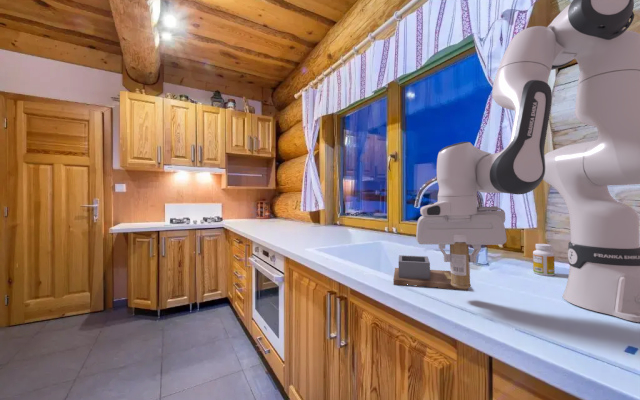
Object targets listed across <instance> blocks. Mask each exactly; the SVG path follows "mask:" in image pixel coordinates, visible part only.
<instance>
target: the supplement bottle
mask: <svg viewBox="0 0 640 400" xmlns="http://www.w3.org/2000/svg"><path fill="white" fill-rule="evenodd" d="M532 259H533V260H532V264H533V266H532V267H533V268H532V269H533V270H532V271H533V272H532V273H534V274H536V275H539V276H545V277H553V276H555V253H554V252H553V251H552V245H551V244H549V243H548V244H547V243H535V250H533V251H532Z"/></svg>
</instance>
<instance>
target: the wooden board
mask: <svg viewBox="0 0 640 400" xmlns="http://www.w3.org/2000/svg"><path fill="white" fill-rule="evenodd" d="M407 284H408V285H417V286H416V287H419V286H427V287H426V288H432V287H438V288H437V289H447V290H448V289H449V290H458V291H459V290H460V291H468V290H469V288H465V289H463V288H456V287H454V286H452V285H451V270H440V269H430V280H427V279H412V278H399V267H394V274H393V285H396V286H406V285H407Z"/></svg>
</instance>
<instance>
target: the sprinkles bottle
mask: <svg viewBox="0 0 640 400" xmlns="http://www.w3.org/2000/svg"><path fill="white" fill-rule="evenodd" d="M454 242H456V243H455V244H454V245H449V254H450V255H451V258H450V259H451V262H449V265H450V268H449V269H450V271H451V285H452V286H454V287H456V288H463V289H465V288H468V289H469V288H471V287H472V286H471V276H470V275H471V274H470V273H471V266H470V263H471V262H469V254H470V253H469V251H470V248H469V246H470V245H467V244H466V243H465V242H467V239H466V235H454Z"/></svg>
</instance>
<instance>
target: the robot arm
mask: <svg viewBox="0 0 640 400" xmlns="http://www.w3.org/2000/svg"><path fill="white" fill-rule="evenodd" d="M634 6H635V1H634V0H572V1H571V2H570V3H569V4H568V5H567V6H566V7H565V8H564V9H562V10H561V11H560V13H559V14H557V15H556V17H554V19H553V20H552V21H551V22H550V23H549V24H548V25H547V26H544V25H536V26H530V27H527V28H524V29H522V30H520V31H519V32H517V33H516V34H515V35H514V36H513V37H512V39H510V42H509V44H508V46H507V48H506V49H505V51H504V54H503V56H502V58H501V61H500V63H499V66H498V68H497V71H496V74H495V77H494V81H493V86H492V93H491V94H492V95H491V96H492V98H493V101H494V102H495V103H496V104H497V105H498V106H500V107H502V108H503V109H506V110H509V111H514V119H513V123H512V127H511V128H512V129H511V133H510V139H509V142H508V144H507V146H505V147H504V148H503V149H502V150H501V151H499V152H495V153H492V152H487V151H484V150H482V149H480V148H478V147H476V146H475V145H473V144H472V143H471V142H470V141H461V142H458V143H456V142H455V143H453V144H451V145H447V146H445V147H443V148H441V149H440V150H439V151H438V154H437V158H436V180H437V184H438V193H437V202H435V201H434V202H431V203H430V204H427V205H423V206H421V207H420V209H419V211H420V213H419V214H420V215H421V216H420V217H419V218H418V219H417V223H416V234H415V235H416V236H415V237H416V242H417V243H418V244H419V245H438V249H439V250H440V252H441V253H442V255H443V261H444V263H450V262H451V259H450V258H451V255H450V253H446V251H445V250H444V249H446V245H447V246H450V245H454V244H455V243H456V242H454V235H466V239H467V242H465V243H466V244H467V245H468V246H470V245H471V246H472V248H474V249H473V251H472V252H471V254H470V253H469V262H470V263H474V264H475V263H477V257H478V255H479V253H480V251H481V249H482V245H484V246H486V245H488V246H491V245H494V246H496V245H499V246H502V245H504V244H505V243H507V239H508V238H507V231H506V226H505V222H506V212H505V210H504V209H502V208H501V207H498V206H495V205H493V206H478V195H477V193H478V192H480V193H485V194H486V193H487V194H488V193H489V194H491V193H492V194H510V195H525V194H528V193H530V192H532V191H534V190H535V189H536V188H538V186H539V185H540V184H541V183H542V181H544V182H546V183H547V184H549V185H550V186H552V187H553V188H554V189H555V190H556V191H557V192H558V193H559V195H560V196H561V198H562V200H563V201H564V203H565V205H566V207H567V212H568V217H569V228H570V231H569V232H570V233H569V234H570V241H569V242H568V245H567V247H568V249H567V259H568V264H569V270H568V278H567V282H566V286H565V289H564V292H563V294H562V298H563V300H565V301H566V302H568V303H570V304H573V305H575V306H577V307H580V308H583V309H587V310H589V311H594V312H598V313H602V314H606V315H610V316H613V317H617V318H620V319H623V320H627V321H631V322H634V323H636V322H637V323H640V227H639V225H640V218H639V215H638V213H637V211H635V209H633V208H632V207H631V206H629V205H627V204H625V203H622V202H621V201H617V200H616V199H615V198H614V197H613V196H612V195H611V193H610V191H609V189H608V187H609V186H626V185H627V186H632V185H633V186H634V185H640V33H639V32H637V31H634V30H628V29H629V28H630V26H631V25H632V23H633V22H634V18H635V13H634V8H635V7H634ZM573 60H575V61H576V62H577V65H578V68H579V69H578V70H579V73H578V79H577V87H576V97H575V107H574V115H575V117H576V119H577V121H579V122H580V123H582V124H583V125H587V126H591V127H594V128H596V129H597V134H598V136H597V139H595V140H590V141H585V142H584V141H583V142H579V143H574V144H568V145H564V146H561V147H558V148H556V149H553V150H551V151H548V152H546V153H545V144H546V140H547V139H546V138H547V134H548V127H549V120H550V114H551V111H552V110H551V108H552V101H553V94H552V93H553V92H552V89H551V86H550V85H549V84H548V82H549V79H550V75H551V71H552V70H557V69H559V68H562V67H564V66H566V65H569V64H570V63H572V61H573Z"/></svg>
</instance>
